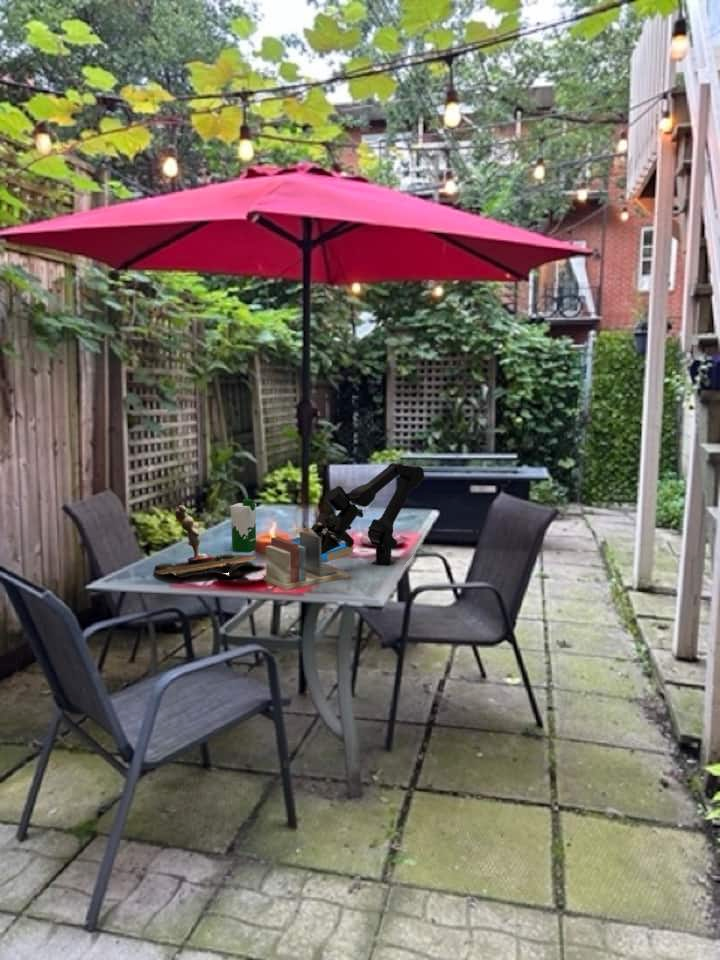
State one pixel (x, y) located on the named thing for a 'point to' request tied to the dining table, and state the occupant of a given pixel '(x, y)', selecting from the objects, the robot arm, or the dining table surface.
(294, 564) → the book shelf
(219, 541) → the dining table surface
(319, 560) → the bookend
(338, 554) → the book
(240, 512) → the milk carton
